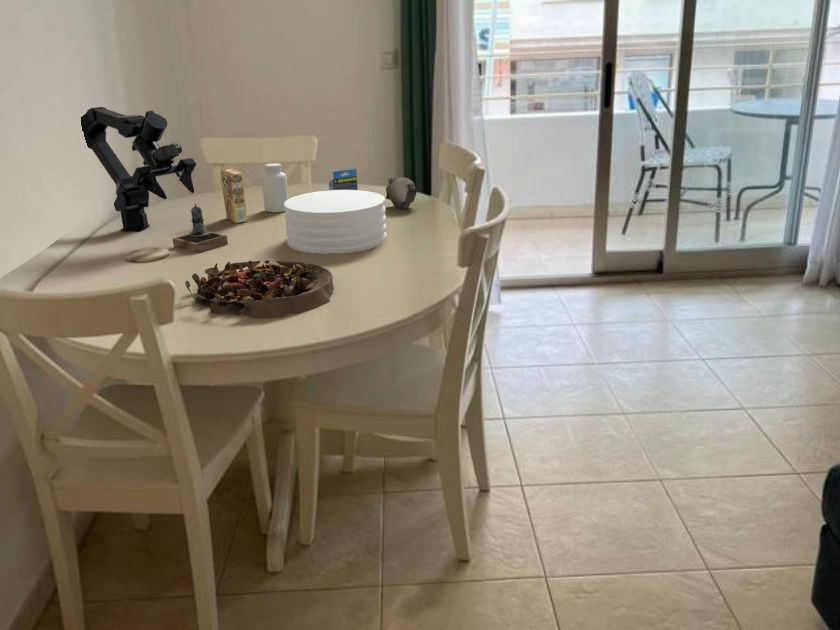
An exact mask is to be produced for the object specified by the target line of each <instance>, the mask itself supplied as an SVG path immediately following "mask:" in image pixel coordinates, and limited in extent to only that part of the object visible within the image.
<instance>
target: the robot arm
mask: <svg viewBox="0 0 840 630" xmlns="http://www.w3.org/2000/svg"><path fill="white" fill-rule="evenodd" d="M80 118H81V126H82V131H83V132H84V137H85V140H86V143H87V146H88V147H87V148H88V149H90V150H92V152H93V154H94V155H95V157H97V159H98V161H99V162H100V164H101V165H102V167H103V168H104V169H105V172H107V174H108V175H109V176H110V178H111V179H112V181H113V182H114V184H115V195H116V198H115V200H114V202H113V206H114V209H115V211H116V212H120V216H121V222H122V228H120V231H121V232H124V231H125V232H126V231H127V232H129V231H130V232H141V231H144V229H147V228H148V227H150V226H151V225H150V224H149V221H148V215H147V214H148V213H147V212H146V211H145V208H149V204H150V203H149V202H150V193H152V194H154V195H156V196H157V197H159V198H161V199H163V200H166V199H167V198H168V197H167V195H166V192H165V191H164V190H163V188H162V186H161V185H160V184H159V182H158V180H157V177H163V176H168V175H173V174H175V175H176V176H177V178H179V179H178V181H180V183H181V184H182V185H183V186H184V187H185V188H186V189H187V190H188V191H189V192H190V194H194V193H195V187H194V183H193V179H192V174H193V172H194V170H195V168H196V166H197V163H196V161H195V159H194V158H193V157H187V158H182V159H179V160H178V163H177V165H172V164H175V163H174V162H175V158H176V157H179V156H180V154H181V153H182V152H183V148H182V146H181V144H180V143H179V142H178V141H174V142H172V143H170V144H166V145H162V146H159V144H158V142H160V141H161V139H162V137H163V135H164V133H165V130H166V128H167V127H168V121H167V119H166V118H165V117H163V116H162V115H160V114H158V113H155V112H154V110H147V111H146V112H145V114H144V115H141V114H128V115H126V114H122V113H120V112H116V111H114V110H112V109H111V110H110V109H108V108H106V107H104V106H98V107H91V108H89V109H87V110H86V113H84V114H83V115H82V116H80ZM108 127H109V128H113V129H114V130H115V129H116V130H117V132H118V134H119V135H120V136H122V137H124V138H125V139H129V138H134V139H133V141H132V146H131V151H132V152H135V151H137V152H138V154H139V155H140V156H141V158H142V159H143V162H142V164H143V166H138V167H136V168H135V170H134V171H133V172H134V173H132V175H130V173H129V172H128V170H127V169H126V168H125V166H124V164H123V163H122V162H121V160H120V159H119V158H118V157H119V156H117V154H116V153H115V151H114V150H113V149H112V148H111V146H110V144H109V143H108V141H107V131H106V130H107V128H108Z"/></svg>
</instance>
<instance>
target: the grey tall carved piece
mask: <svg viewBox="0 0 840 630" xmlns="http://www.w3.org/2000/svg"><path fill="white" fill-rule="evenodd" d="M190 213H191V223H192V231H191V232H189V233H188V234H189V236H190V238H191V240H192V241H193V242H194V243H198V242H202V241H206V240H208V239H209V234H210V232H211V231H210V232H209V230H206V229H205V224H204V223H205V222H204V221H205V218H204V217H203V210H202V208H201V207H200V206H198V204H197V203H195V204H194V207H191V210H190Z"/></svg>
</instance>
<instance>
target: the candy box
mask: <svg viewBox="0 0 840 630" xmlns="http://www.w3.org/2000/svg"><path fill="white" fill-rule="evenodd" d="M220 180H221V187H222V194H223V201H224V202H223V203H224V210H225V217H226V219H228V220H230V221H232V222H233V223H234V224H238V223H239V224H240V223H245V222H248V213H247V204H246V197H245V188H244V180H243V173H242V172H240V171H237V170H236V169H232V168H229V169H223V170H220Z"/></svg>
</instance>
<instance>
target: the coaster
mask: <svg viewBox="0 0 840 630" xmlns="http://www.w3.org/2000/svg"><path fill="white" fill-rule="evenodd" d="M169 255H170V251H169V249H168V248H164V247H163V248H162V247H149V248H148V247H147V248H146V247H145V248H140V249H136V250H135V249H134V250H132V251H130V252H128V253H127V254H126V255H125V257H126V260H127V261H128V262H131V263H151V262H154V261H160V260H163V259H165V258H168V256H169Z"/></svg>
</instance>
